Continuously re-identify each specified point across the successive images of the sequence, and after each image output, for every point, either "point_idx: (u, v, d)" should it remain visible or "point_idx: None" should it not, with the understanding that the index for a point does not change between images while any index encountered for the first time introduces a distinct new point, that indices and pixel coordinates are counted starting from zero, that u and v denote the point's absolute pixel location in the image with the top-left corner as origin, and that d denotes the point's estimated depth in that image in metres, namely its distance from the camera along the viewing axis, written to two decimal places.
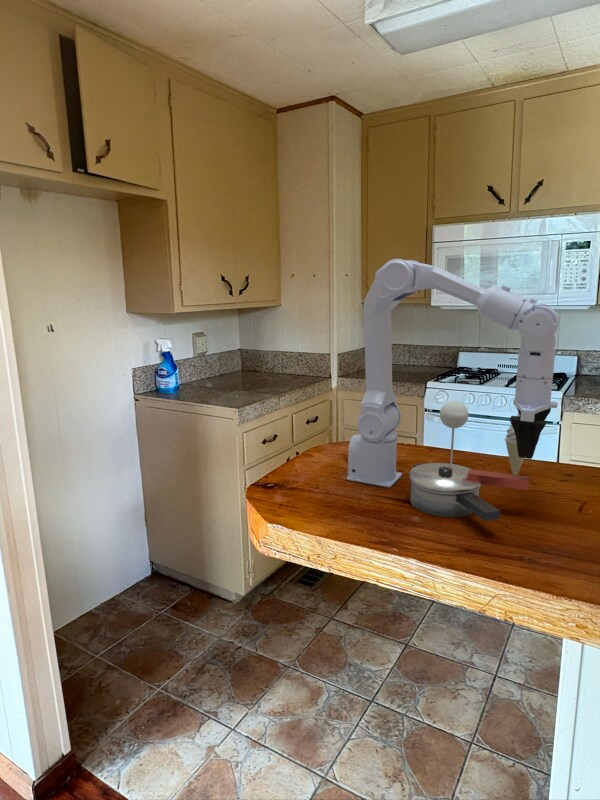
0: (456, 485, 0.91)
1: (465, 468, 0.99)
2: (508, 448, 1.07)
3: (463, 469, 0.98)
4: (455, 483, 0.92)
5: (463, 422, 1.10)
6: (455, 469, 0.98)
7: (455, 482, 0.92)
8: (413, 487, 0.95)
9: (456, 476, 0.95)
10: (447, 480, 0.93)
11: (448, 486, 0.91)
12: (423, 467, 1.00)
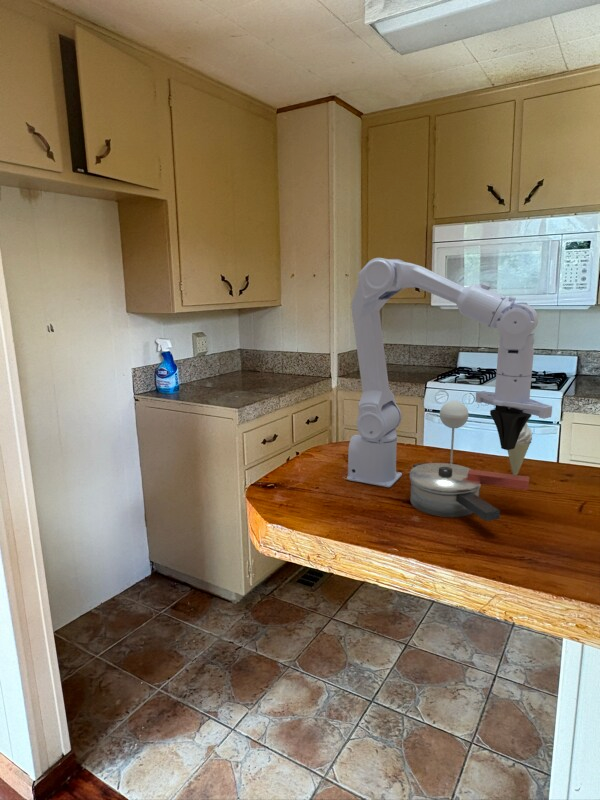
0: (456, 485, 0.91)
1: (465, 468, 0.99)
2: None
3: (463, 469, 0.98)
4: (455, 483, 0.92)
5: (463, 422, 1.10)
6: (455, 469, 0.98)
7: (455, 482, 0.92)
8: (413, 487, 0.95)
9: (456, 476, 0.95)
10: (447, 480, 0.93)
11: (448, 486, 0.91)
12: (423, 467, 1.00)
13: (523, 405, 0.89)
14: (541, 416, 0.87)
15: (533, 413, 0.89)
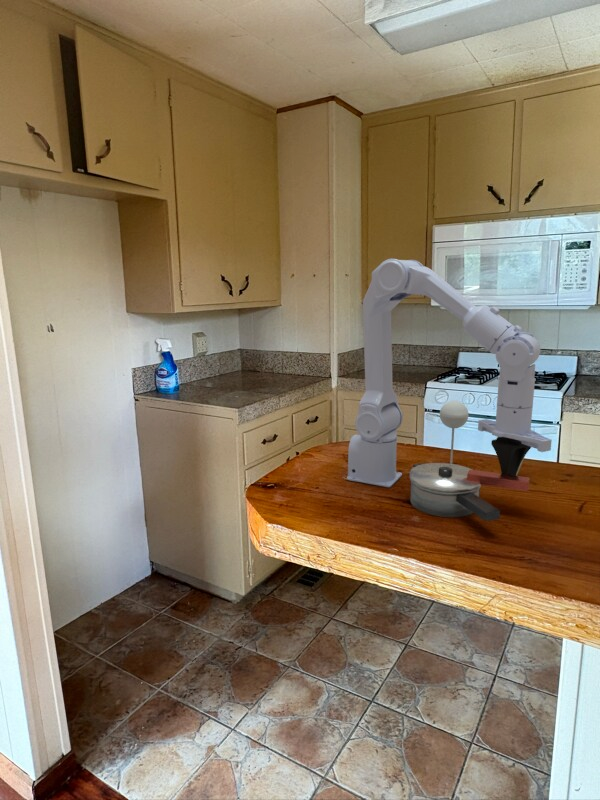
0: (455, 485, 0.91)
1: (466, 468, 0.99)
2: None
3: (464, 469, 0.98)
4: (454, 483, 0.92)
5: (463, 422, 1.10)
6: (456, 469, 0.98)
7: (454, 482, 0.92)
8: (413, 487, 0.95)
9: (455, 477, 0.95)
10: (446, 480, 0.93)
11: (447, 486, 0.91)
12: (424, 466, 1.00)
13: (522, 437, 0.88)
14: (539, 449, 0.86)
15: (532, 445, 0.88)
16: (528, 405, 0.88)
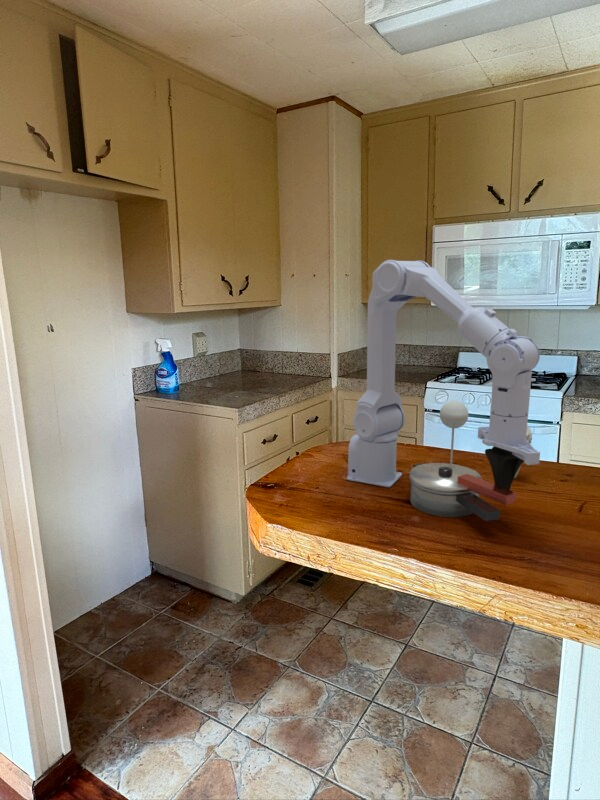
0: (437, 484, 0.91)
1: (476, 474, 0.96)
2: None
3: (472, 474, 0.96)
4: (440, 482, 0.92)
5: (463, 422, 1.10)
6: (464, 473, 0.96)
7: (441, 482, 0.92)
8: (413, 487, 0.95)
9: (451, 478, 0.94)
10: (437, 479, 0.94)
11: (428, 483, 0.92)
12: (437, 465, 1.01)
13: (510, 448, 0.82)
14: (525, 462, 0.80)
15: (521, 457, 0.82)
16: (520, 414, 0.83)
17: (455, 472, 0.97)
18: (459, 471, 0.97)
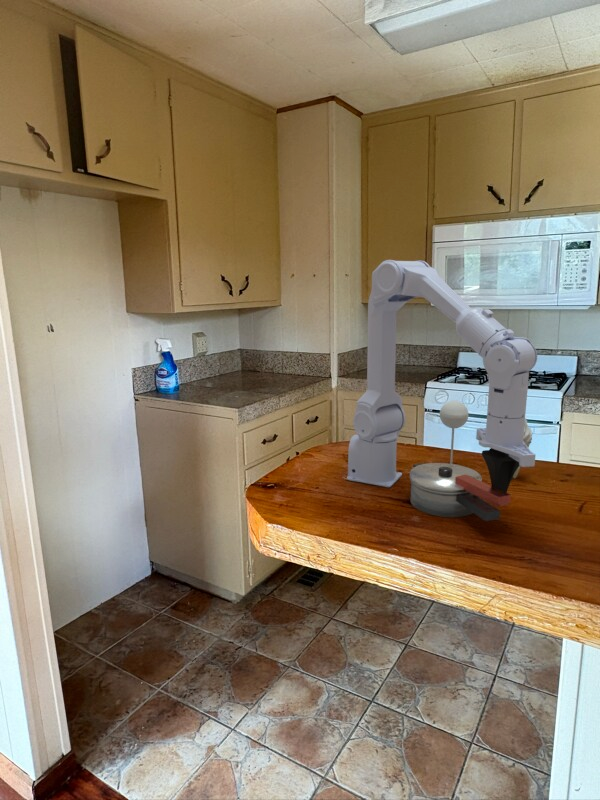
0: (434, 483, 0.92)
1: (476, 475, 0.95)
2: None
3: (472, 475, 0.95)
4: (437, 482, 0.92)
5: (463, 422, 1.10)
6: (465, 473, 0.96)
7: (439, 481, 0.93)
8: (413, 487, 0.95)
9: (450, 478, 0.94)
10: (436, 478, 0.94)
11: (426, 482, 0.93)
12: (440, 465, 1.01)
13: (505, 449, 0.82)
14: (520, 464, 0.79)
15: (517, 459, 0.81)
16: (516, 415, 0.82)
17: (456, 472, 0.97)
18: (460, 472, 0.97)
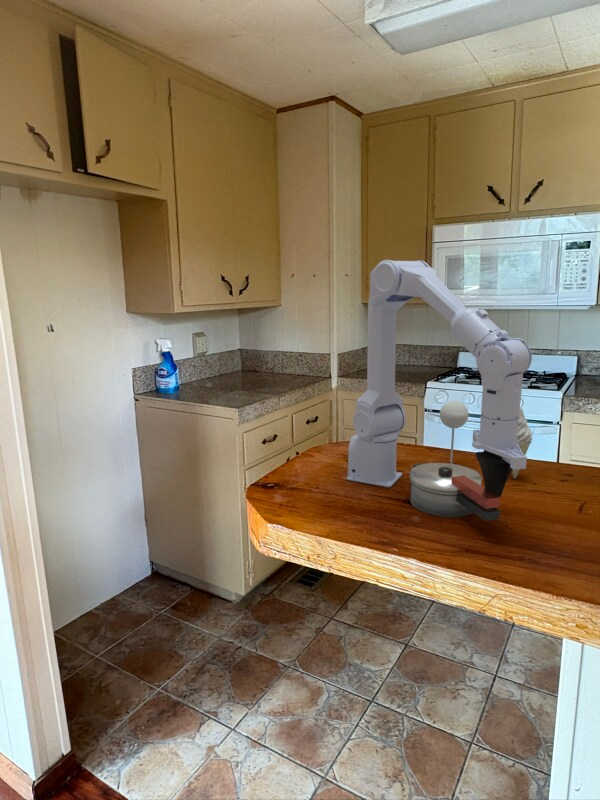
0: (430, 482, 0.92)
1: (477, 477, 0.94)
2: None
3: (473, 477, 0.94)
4: (433, 481, 0.93)
5: (463, 422, 1.10)
6: (466, 475, 0.96)
7: (436, 481, 0.93)
8: (413, 487, 0.95)
9: (449, 478, 0.94)
10: (434, 477, 0.94)
11: (422, 480, 0.93)
12: (444, 465, 1.01)
13: (497, 451, 0.81)
14: (511, 466, 0.78)
15: (509, 462, 0.80)
16: (509, 417, 0.81)
17: (457, 473, 0.96)
18: (462, 473, 0.97)
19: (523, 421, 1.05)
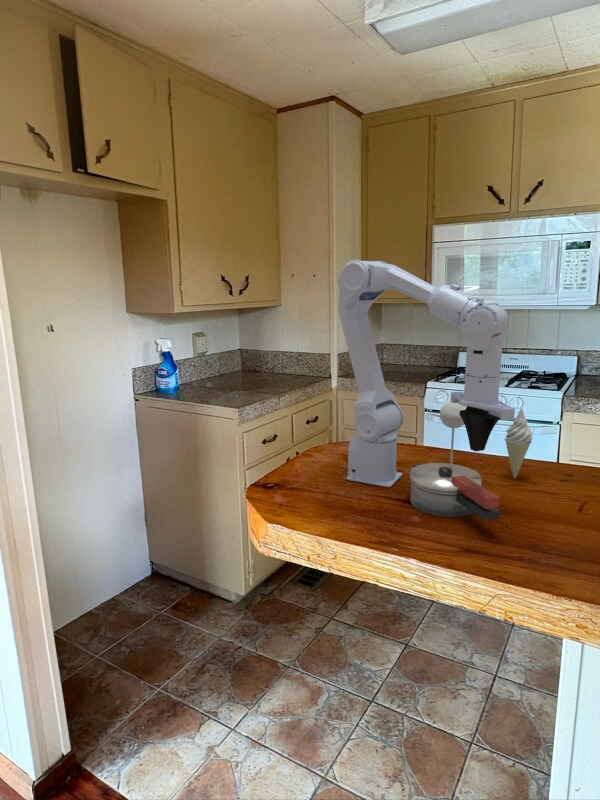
0: (430, 482, 0.92)
1: (477, 477, 0.94)
2: (508, 448, 1.07)
3: (473, 477, 0.94)
4: (433, 481, 0.93)
5: (463, 422, 1.10)
6: (466, 475, 0.96)
7: (435, 481, 0.93)
8: (413, 487, 0.95)
9: (448, 478, 0.94)
10: (434, 477, 0.94)
11: (422, 480, 0.93)
12: (444, 465, 1.01)
13: (486, 406, 0.88)
14: (502, 418, 0.86)
15: (497, 415, 0.88)
16: (494, 375, 0.88)
17: (457, 473, 0.96)
18: (462, 473, 0.97)
19: (523, 421, 1.05)
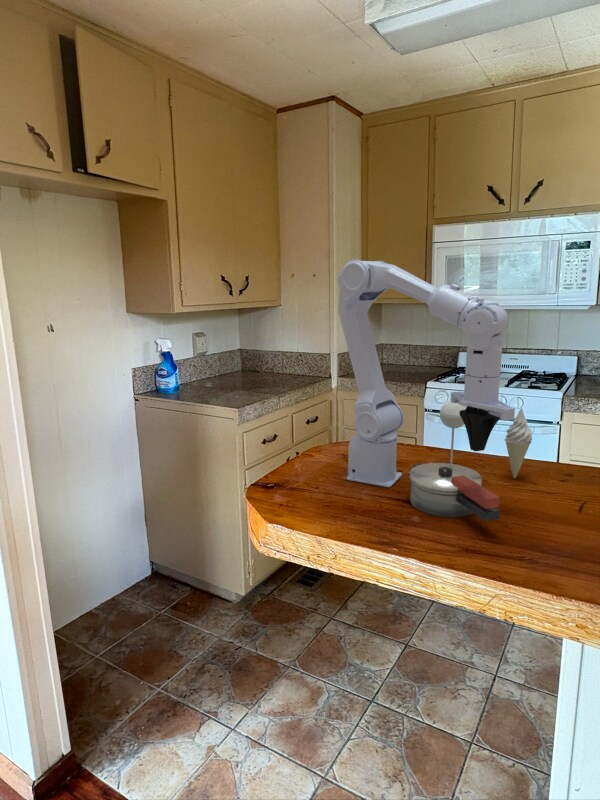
0: (430, 482, 0.92)
1: (477, 477, 0.94)
2: (508, 448, 1.07)
3: (473, 477, 0.94)
4: (433, 481, 0.93)
5: (463, 422, 1.10)
6: (466, 475, 0.96)
7: (435, 481, 0.93)
8: (413, 487, 0.95)
9: (448, 478, 0.94)
10: (434, 477, 0.94)
11: (422, 480, 0.93)
12: (444, 465, 1.01)
13: (486, 406, 0.88)
14: (502, 418, 0.86)
15: (497, 415, 0.88)
16: (494, 375, 0.88)
17: (457, 473, 0.96)
18: (462, 473, 0.97)
19: (523, 421, 1.05)
